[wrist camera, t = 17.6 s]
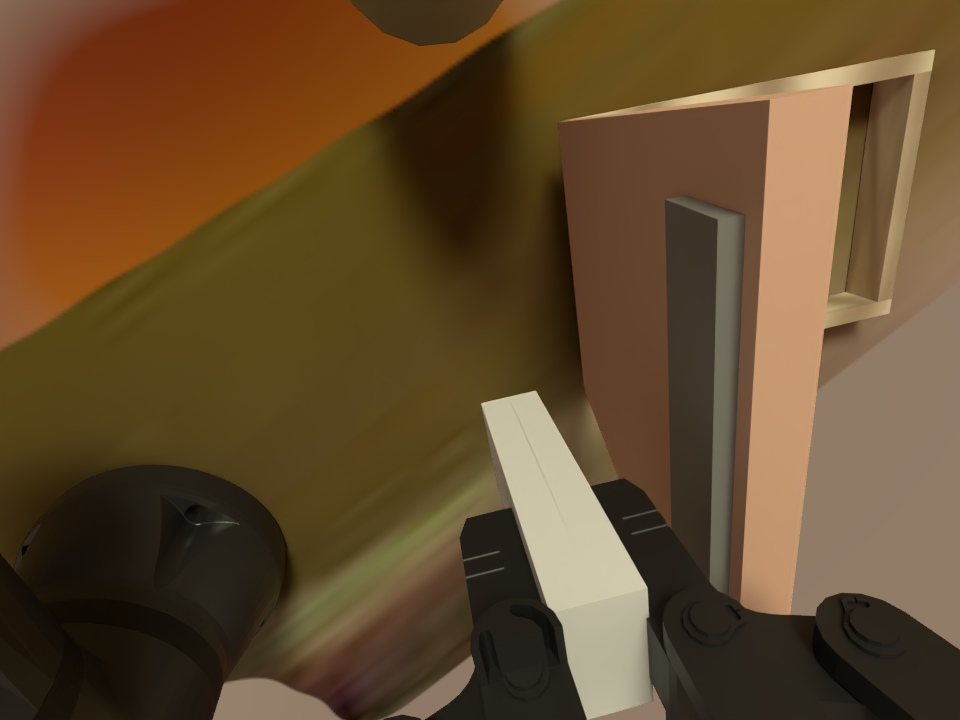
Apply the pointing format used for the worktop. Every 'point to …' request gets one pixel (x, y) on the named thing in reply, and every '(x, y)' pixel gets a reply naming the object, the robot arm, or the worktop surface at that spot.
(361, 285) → the worktop surface
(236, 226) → the worktop surface
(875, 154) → the frame
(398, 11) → the squeeze bottle
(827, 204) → the lid
